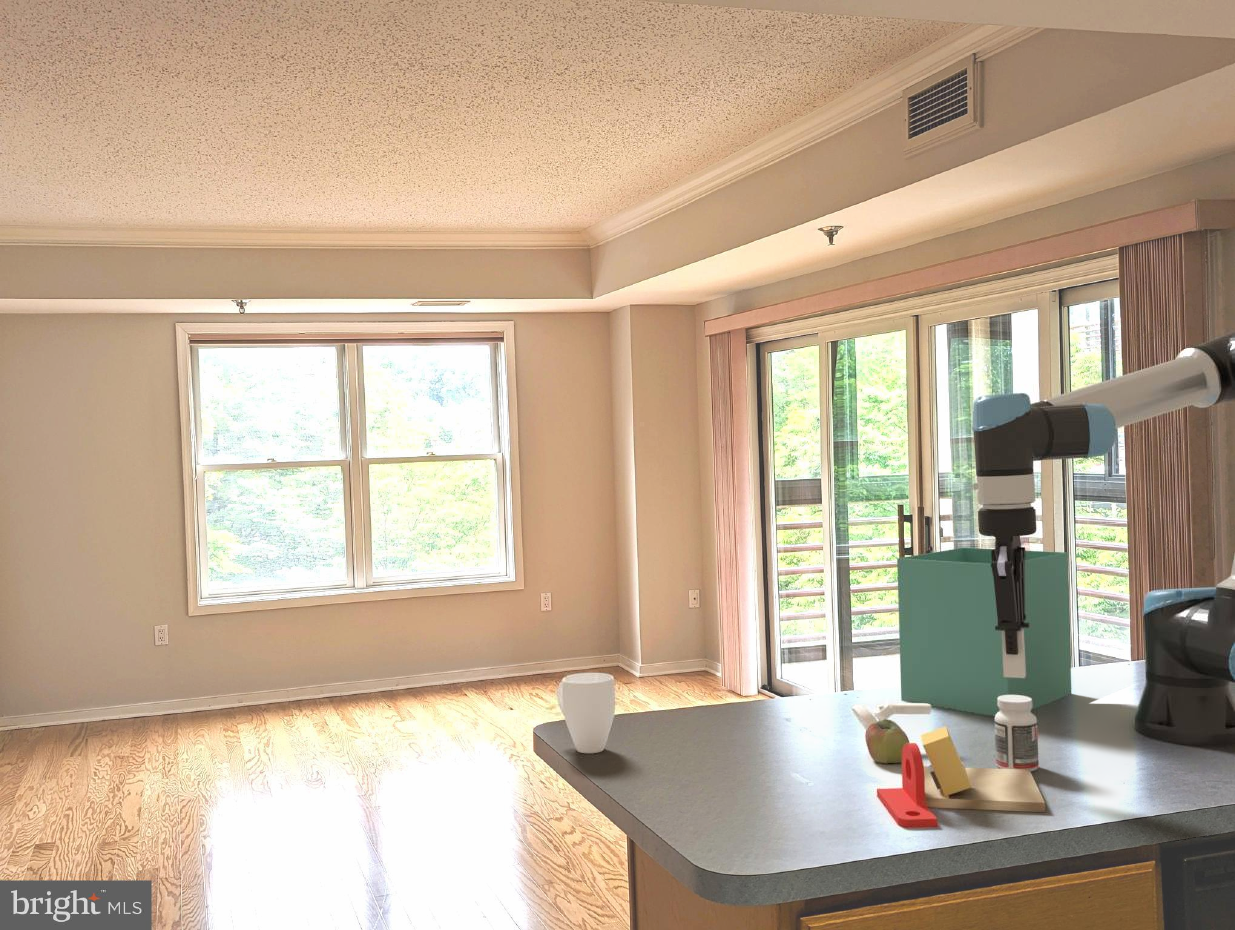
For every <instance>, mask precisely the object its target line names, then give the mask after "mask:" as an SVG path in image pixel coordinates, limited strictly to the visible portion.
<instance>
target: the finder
mask: <svg viewBox="0 0 1235 930" xmlns="http://www.w3.org/2000/svg"><path fill="white" fill-rule="evenodd" d="M920 737H921V743H922V747H923V749H924V752H925V754H926V756H927V758H928V761H929V763H930V764H929V765H928V766H929V770H930V773H931V776H932V778H933V780H934V783H935V785H936V787H937V789H941V788H942V790H943V793H944V795H945V796H948V795H950V794H953V793H956V792H959V791H962V790H965V789H968V788H971V785H970V781H969V778H968V775H967V773H966V770H965V768H966V767H965V766H964V764H963V762H962V759H961V757H960V755H959V753H958V751H957V748H956V746H955V744H954V741H953V738H952V737H951V734H950V731H949V730H948V728H947V726H942V727H940V728H937V729H934V730H932V731H929V732H926V733H922V734H920ZM964 767H965V768H964Z"/></svg>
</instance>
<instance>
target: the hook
mask: <svg viewBox="0 0 1235 930" xmlns="http://www.w3.org/2000/svg"><path fill="white" fill-rule="evenodd" d="M850 707H851V711H852V713H853V714H854V715H855V717H856V718H857V720H858V721H859V723H860V724H861V725H862V727H864V729H865V731H866V730H867V728H868V727H869V726H870V725H871V724H873V723H876V722H878V721H881V720H884V719H887V720H889V718H890V717H891V716H893V715H930V714H931V712H932V706H931V705H930V704H927V703H914V702H884V703H880V704H879V705H878V706H877V707H875V708H874V710H873V713H872V712H871V711H870V710H869V709H868V708H867V707H866V706H865V705H864V704H863V703H861V704H855V705H852V706H850ZM873 714H874V715H873Z"/></svg>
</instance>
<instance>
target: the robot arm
mask: <svg viewBox="0 0 1235 930" xmlns="http://www.w3.org/2000/svg"><path fill="white" fill-rule="evenodd" d="M1230 402H1231V403H1232V402H1235V330H1234V331H1232V332H1229V333H1226V334H1224V335H1222V336H1221V335H1220V336H1218V337H1216V338H1213V339H1211V340H1208V341H1206V342H1202V343H1200V344H1198V345H1197V344H1196V345H1195V346H1191V347H1188V348H1185V349H1183V350H1181V351H1180V352H1179V353H1178V354H1177V355H1176V357H1175V359H1173V360H1169V361H1165V362H1162V363H1159V364H1156V365H1152V366H1149V367H1147V368H1146V367H1145V368H1142V369H1139V370H1136V371H1133V372H1130V373H1126V374H1124V375H1123V374H1122V375H1119V376H1117V377H1113V378H1111V379H1108V380H1104V381H1099V382H1098V383H1094V384H1091V385H1087V386H1085V387H1081V388H1078V389H1075V390H1072V391H1068V392H1065V393H1062V394H1059V395H1055V396H1052V397H1049V398H1046V399H1042V400H1041V401H1038V402H1037V401H1036V402H1032V403H1031V398H1030V395H1028V394H1027V393H1026V392H1020V393H1019V392H1017V393H997V394H986V395H981V396H978V397H977V398H975V399H974V401H973V407H972V408H973V409H972V410H973V411H972V428H971V430H972V432H973V445H974V447H973V448H974V461H975V462H974V463H975V476H976V479H975V480H976V482H973V483H972V486H971V487H972V489H973V490H977V492H976V497H977V504H978V505H980V506H982V507H981V508H979V509H978V511H977V522H978V525H977V526H978V533H979V534H980V535H981V536H984V537H994V538H995V542H994V545H995V546H994V548H991V549H992V550H991V558H992V562H991V567H992V573H993V578H994V588H995V598H996V608H997V618H998V625H996V626H995V630H1001V634H1002V653H1003V673H1004V677H1012V678H1025V677H1026V664H1025V645H1024V629H1021V628H1029V623H1024V621H1025V620H1026V615H1025V558H1026V551H1027V550H1026V547H1025V546H1022V543H1021V541H1022V540H1021V537H1024V536H1030V535H1033V534H1035V533H1036V532H1037V515H1036V514H1037V513H1036V512H1037V511H1036V510H1037V509H1035V507H1034V506H1032V504H1034V503H1035V502H1036V487H1035V486H1036V485H1035V472H1034V462H1037V461H1048V460H1049V461H1051V460H1053V461H1055V460H1067V459H1068V460H1070V459H1071V460H1074V459H1089V458H1093V457H1102V456H1105V455H1106V454H1108V453H1109V452H1110V451H1111V450H1112V449H1113V446H1114V445H1115V442H1116V439H1117V430H1118V429H1120V428H1123V427H1127V426H1129V425H1132V424H1135V423H1139V422H1143V421H1145V420H1149V419H1152V418H1155V417H1158V416H1161V415H1164V414H1167V413H1171V412H1173V411H1178V410H1181V409H1183V408H1186V407H1191V406H1193V407H1194V408H1195V407H1196V408H1200V409H1202V408H1204V409H1205V408H1208V407H1211V406H1215V405H1218V404H1224V403H1230ZM1142 618H1143V638H1144V639H1143V641H1144V642H1143V643H1144V666H1145V667H1144V669H1145V685H1144V688H1143V690H1142V693H1141V696H1140V699H1139V703H1138V706H1137V708H1136V711H1135V715H1134V730H1135V731H1136V732H1137V733H1138V734H1139V735H1140V736H1143V737H1144V738H1145V737H1146V738H1149V739H1152V740H1154V741H1155V740H1156V741H1160V742H1165V743H1169V744H1175V745H1184V746H1196V747H1197V746H1198V747H1221V746H1222V747H1223V746H1229V745H1230V746H1231V745H1234V744H1235V699H1234V696H1233V693H1232V691H1231V686H1230V685H1231V684H1230V683H1234V684H1235V554H1234V557H1233V562H1232V567H1231V573H1230V576H1229V577H1228V578H1226V579H1225V580H1223V581H1221V582H1219V583H1218V584H1216V586H1215V587H1214V586H1213V587H1189V588H1188V587H1187V588H1186V587H1185V588H1169V589H1168V588H1166V589H1154V590H1151V591H1149V592H1147V594H1146V595H1145V596H1144V599H1143V612H1142Z"/></svg>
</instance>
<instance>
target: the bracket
mask: <svg viewBox="0 0 1235 930" xmlns="http://www.w3.org/2000/svg"><path fill="white" fill-rule="evenodd" d="M924 766H925V765H924V762H923V755H922V753H921V749H920V747H919V745H918V744H917V743H916V742H909V743H905V744H904V746H903V749H902V762H901V779H902V780H901V786H902V787H895V788H891V787H889V788H876V798H878V800H879V801H880V803H881V804H882V806H883V807H884V809H885V810H887V813H889V815H890V816H891V817H892V819H893V820H894V822H895V823H896V825H898V827H900V828H905V829H913V828H914V829H915V828H938V818H937V817H936V816H935V814H934V813H933V812H932V810H931V809H930V807H927V805H926V801H925V778H924Z"/></svg>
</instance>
